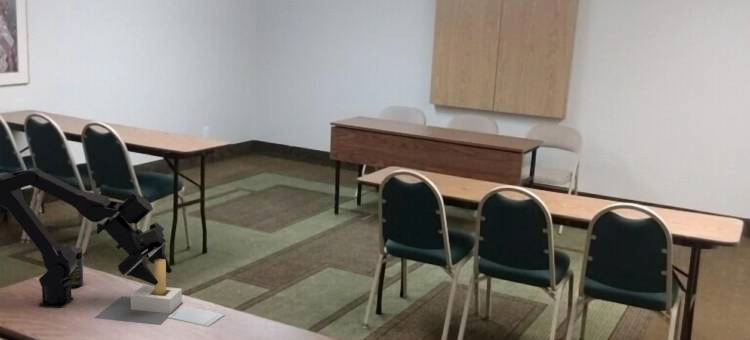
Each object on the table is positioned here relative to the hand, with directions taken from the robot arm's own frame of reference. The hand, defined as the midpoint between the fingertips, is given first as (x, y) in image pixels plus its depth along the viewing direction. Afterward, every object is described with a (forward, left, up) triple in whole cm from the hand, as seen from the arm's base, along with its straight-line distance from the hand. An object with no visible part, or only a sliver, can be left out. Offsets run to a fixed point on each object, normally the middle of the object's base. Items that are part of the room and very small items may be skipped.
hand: (164, 277), depth 199 cm
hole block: (-2, 0, -8) cm, 8 cm away
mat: (-5, -4, -9) cm, 11 cm away
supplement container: (-32, +9, -9) cm, 35 cm away
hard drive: (+11, -4, -9) cm, 15 cm away
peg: (-1, 0, -8) cm, 8 cm away
